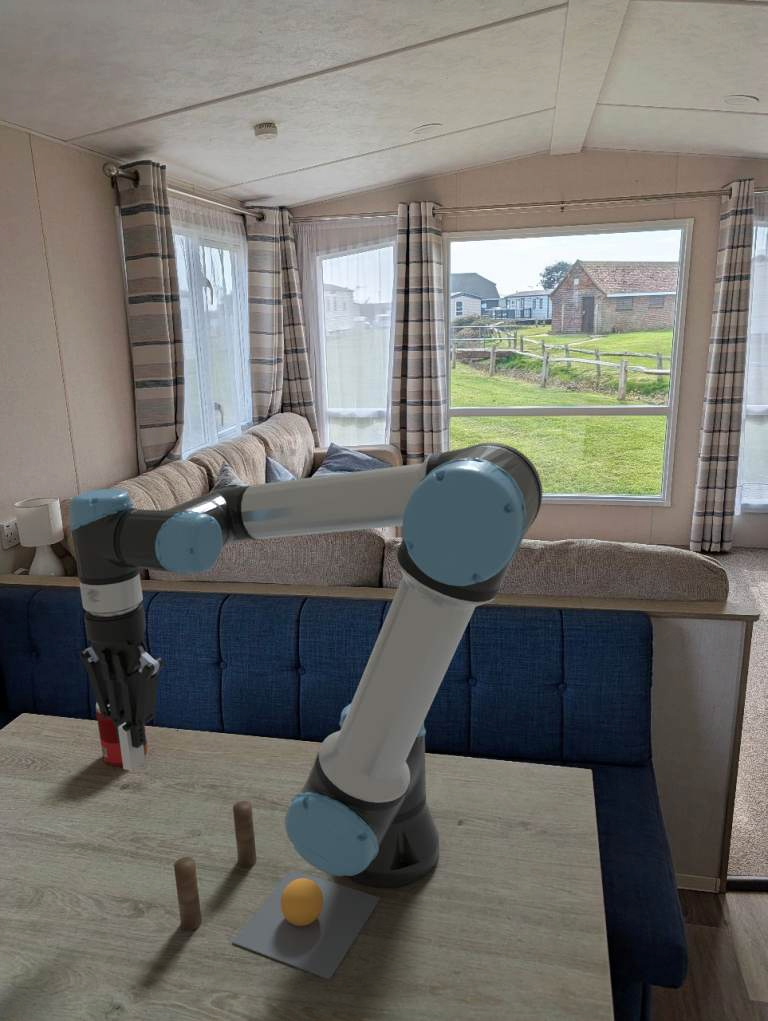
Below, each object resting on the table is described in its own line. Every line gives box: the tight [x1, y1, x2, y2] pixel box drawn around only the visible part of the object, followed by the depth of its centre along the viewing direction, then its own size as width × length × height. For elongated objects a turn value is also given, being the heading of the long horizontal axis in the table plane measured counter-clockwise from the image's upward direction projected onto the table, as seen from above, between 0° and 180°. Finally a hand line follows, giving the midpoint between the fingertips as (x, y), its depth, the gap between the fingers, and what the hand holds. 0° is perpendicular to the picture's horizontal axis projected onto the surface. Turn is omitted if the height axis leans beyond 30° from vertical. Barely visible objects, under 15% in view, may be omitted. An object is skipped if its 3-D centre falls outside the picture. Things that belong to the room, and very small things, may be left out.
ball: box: [281, 878, 323, 926], centre depth 98 cm, size 6×6×6 cm
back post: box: [232, 800, 257, 868], centre depth 108 cm, size 3×3×9 cm
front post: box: [173, 856, 203, 932], centre depth 97 cm, size 3×3×9 cm
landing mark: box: [231, 869, 381, 981], centre depth 98 cm, size 14×14×1 cm
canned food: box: [95, 702, 148, 767], centre depth 136 cm, size 8×8×11 cm
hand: (134, 764), depth 105 cm, fingers closed
